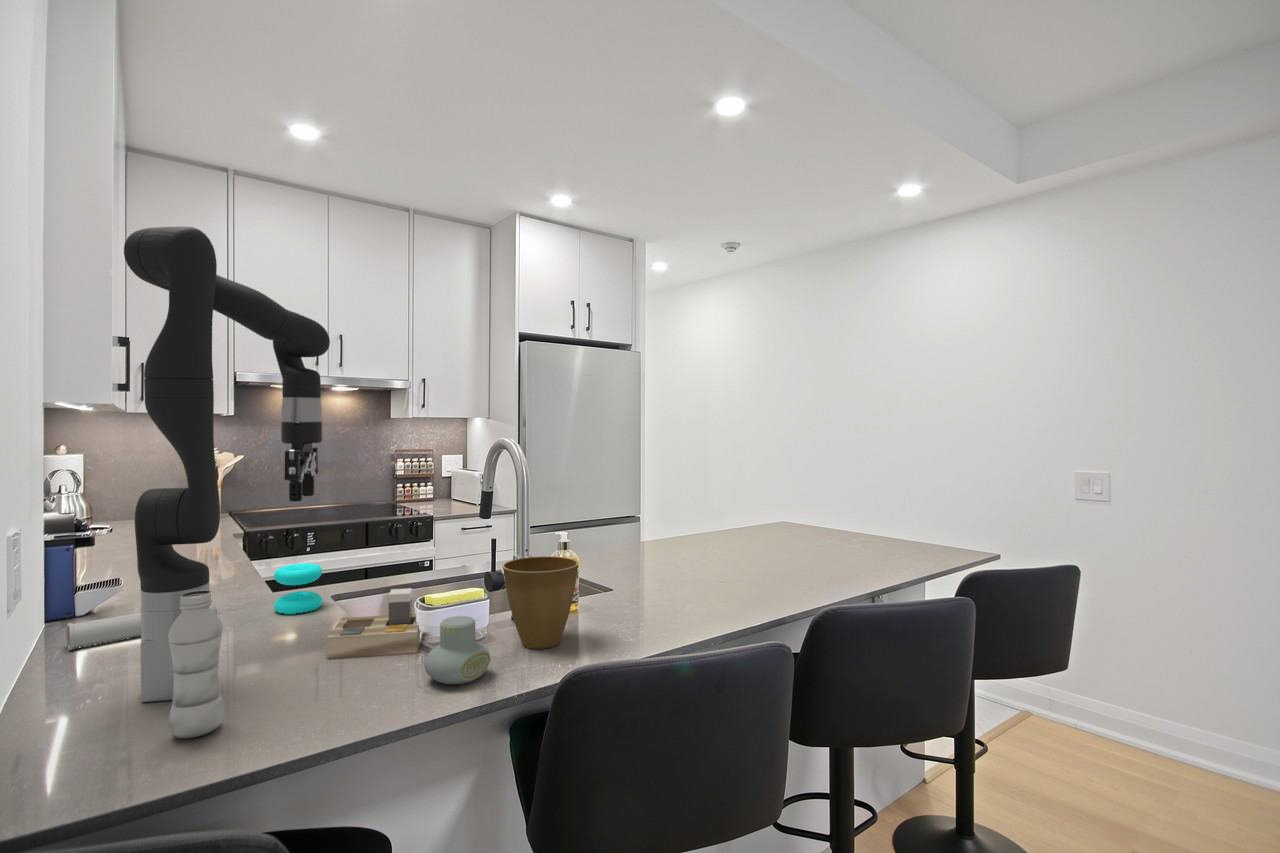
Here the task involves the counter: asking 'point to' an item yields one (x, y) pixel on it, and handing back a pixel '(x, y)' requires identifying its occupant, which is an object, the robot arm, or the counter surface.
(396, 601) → the plug
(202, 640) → the plastic bottle
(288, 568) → the donuts
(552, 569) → the plant pot
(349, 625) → the socket block
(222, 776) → the counter surface
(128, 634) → the tube
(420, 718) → the counter surface
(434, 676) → the air freshener
